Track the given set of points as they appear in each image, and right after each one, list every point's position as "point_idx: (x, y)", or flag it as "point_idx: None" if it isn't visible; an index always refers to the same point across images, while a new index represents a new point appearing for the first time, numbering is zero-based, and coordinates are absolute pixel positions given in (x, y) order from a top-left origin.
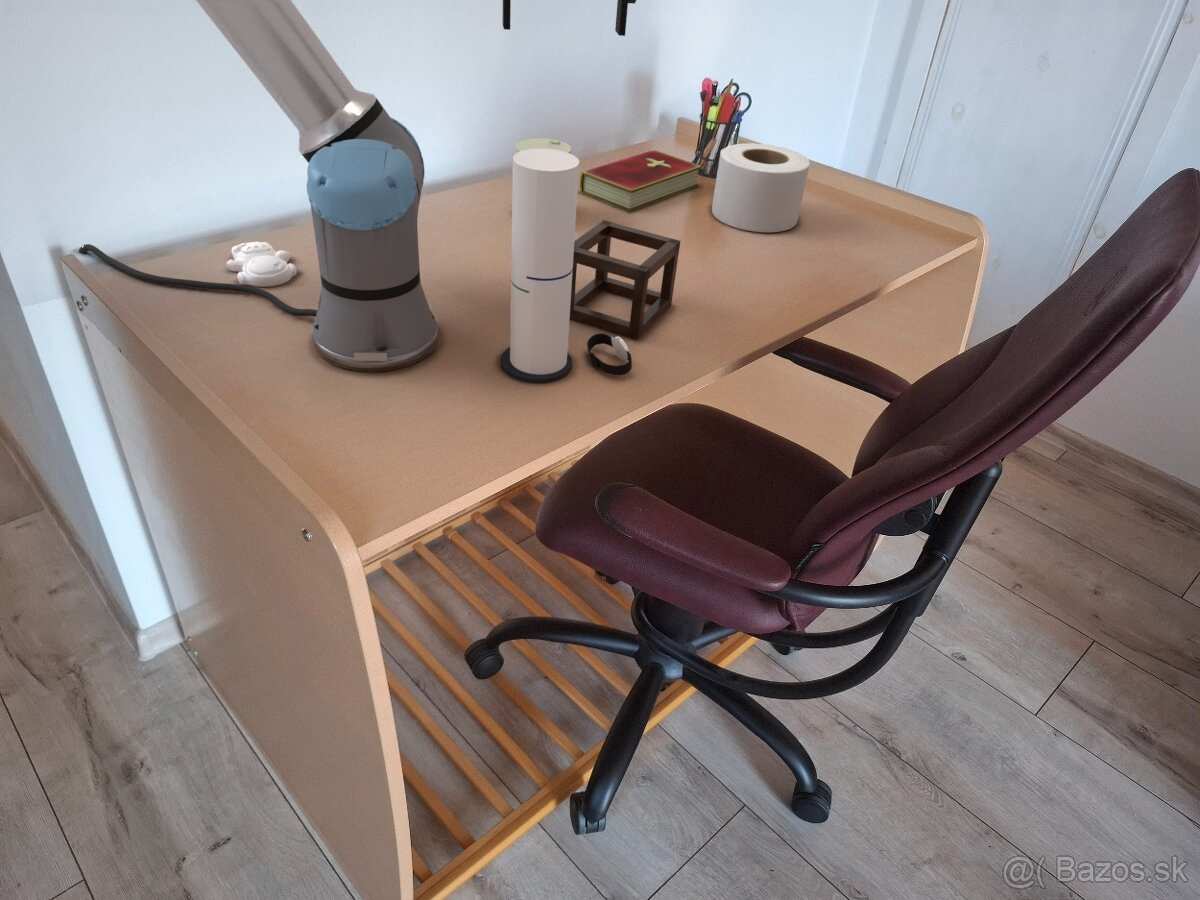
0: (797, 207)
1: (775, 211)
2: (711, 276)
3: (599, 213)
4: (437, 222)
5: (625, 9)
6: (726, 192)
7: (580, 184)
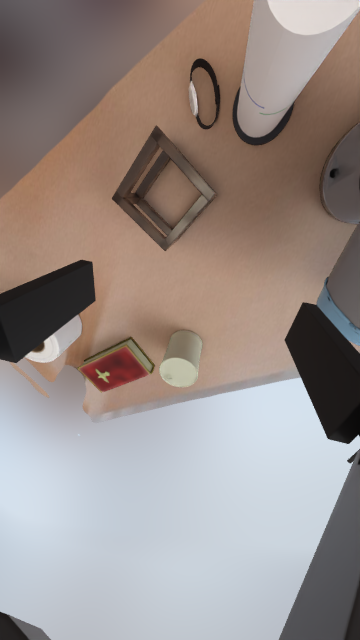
0: None
1: None
2: (97, 241)
3: (149, 339)
4: (253, 346)
5: (53, 273)
6: (66, 324)
7: (153, 369)
